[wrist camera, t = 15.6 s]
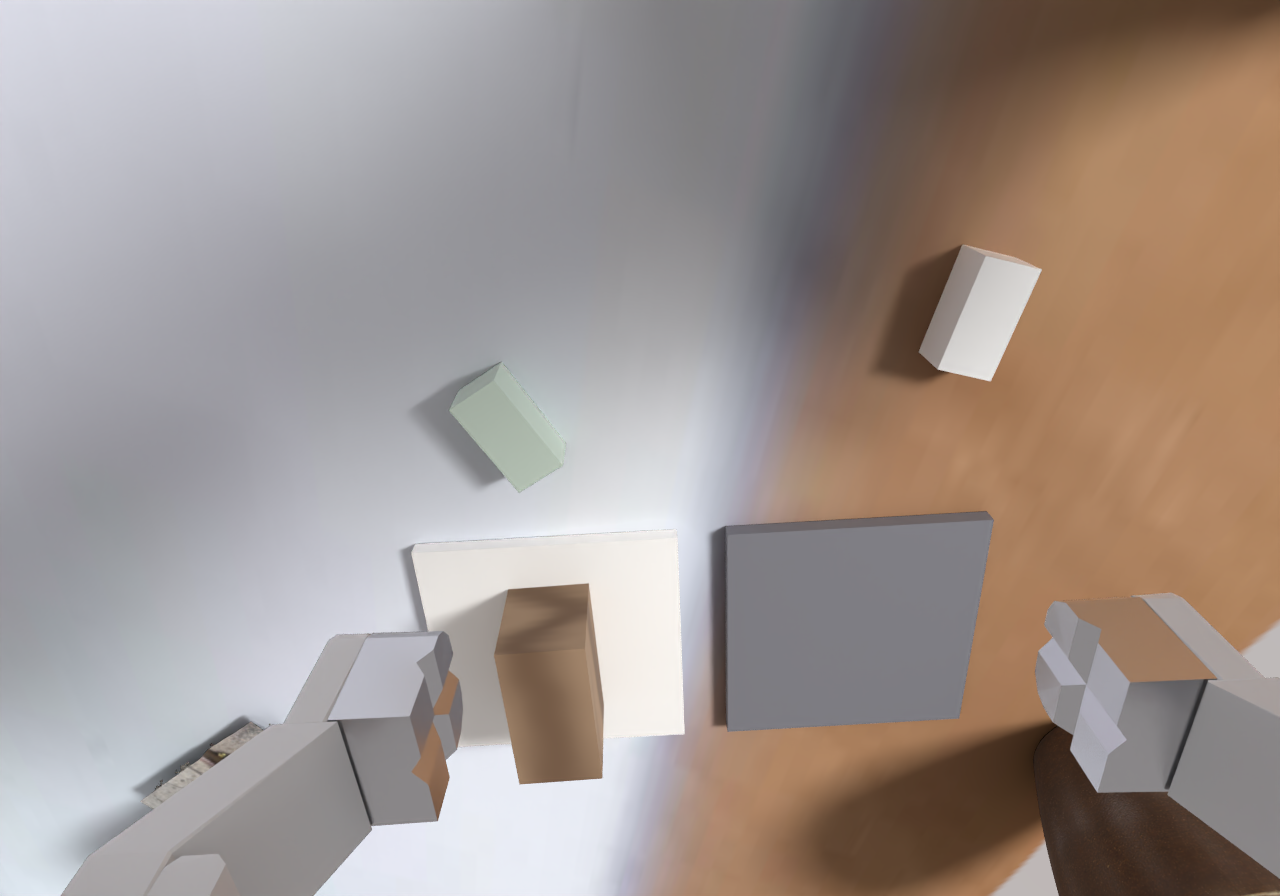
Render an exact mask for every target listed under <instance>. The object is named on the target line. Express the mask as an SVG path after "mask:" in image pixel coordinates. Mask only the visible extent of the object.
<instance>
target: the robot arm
mask: <svg viewBox="0 0 1280 896" xmlns="http://www.w3.org/2000/svg"><path fill="white" fill-rule="evenodd" d="M1044 625H1045V627H1046V628H1047V630H1048V631H1049V633H1050V634H1051V635H1052V637H1053V638H1052V639H1051V640H1050V641H1049V642H1048V643H1047V644H1046V645H1045V646H1044V647H1042V648H1041V649H1040V650H1039V651H1038V657H1037V663H1036V669H1035V674H1036V682H1037V690H1038V694H1039V696H1040V699H1041V702H1042V704H1043V707H1044V709H1045V710H1046V712H1047V714H1048V715H1049V717H1050V718H1051V720H1052V722H1053V723H1055V724H1056V725H1058V726H1059V727H1061V728H1063V729H1064V730H1066V731H1067V732H1069V733H1070V734H1072V735H1073V739H1072V744H1071V748H1070V750H1071V752H1072V754H1073V755H1074V757H1075V758H1076V760H1077V761H1078V763H1079V765H1080V766H1081V768H1082V769H1083V771H1084V772H1085V774H1086V776H1087V777H1088V779H1089V780H1090V782H1091V783H1092V785H1093V786H1094V788H1095V790H1096V791H1097V793H1108V792H1168V794H1167V795H1168V796H1170V797H1171V798H1172V799H1174V800H1175V801H1176V802H1178V803H1179V804H1180V805H1182V806H1183V807H1184V808H1186V809H1187V810H1188V811H1190V812H1191V813H1192V814H1194V815H1195V816H1196V817H1198V818H1199V819H1200V820H1202V821H1203V822H1204V823H1206V824H1207V825H1208V826H1210V827H1211V828H1212V829H1214V830H1215V831H1216V832H1218V833H1219V834H1220V835H1222V836H1223V837H1224V838H1226V839H1227V840H1229V841H1230V842H1231V843H1233V844H1234V845H1235V846H1237V847H1238V848H1239V849H1241V850H1242V851H1243V852H1245V853H1246V854H1247V855H1249V856H1250V857H1251V858H1253V859H1254V860H1255V861H1257V862H1258V863H1259V864H1261V865H1262V866H1263V867H1265V868H1266V869H1267V870H1269V871H1270V872H1271V873H1273V874H1274V875H1275V876H1277V877H1278V878H1279V879H1280V678H1278V677H1275V678H1265V677H1263V676H1262V675H1261V674H1260V673H1259V672H1258V671H1257V670H1256V669H1255V668H1254V667H1253V666H1252V665H1251V664H1250V663H1249V662H1248V661H1247V660H1246V659H1245V658H1244V657H1243V656H1242V655H1241V654H1240V653H1239V652H1238V651H1237V650H1236V649H1235V648H1234V647H1233V646H1232V645H1231V644H1230V643H1229V642H1228V641H1227V640H1226V639H1225V638H1223V637H1222V636H1221V635H1220V634H1219V633H1218V632H1217V631H1216V630H1215V629H1214V628H1213V627H1212V626H1211V625H1210V624H1209V623H1208V622H1207V621H1206V620H1205V619H1204V618H1203V617H1202V616H1201V615H1200V614H1199V613H1198V612H1197V611H1196V610H1195V609H1194V608H1193V607H1192V606H1191V605H1190V604H1189V603H1188V602H1187V601H1185V600H1184V599H1183V598H1182V597H1180V596H1177V595H1175V594H1173V593H1161V594H1147V595H1134V596H1131V597H1116V598H1098V599H1080V600H1062V601H1054V602H1053V604H1052V605H1051V606H1050V608H1049V609H1048V612H1047V616H1046V620H1045V624H1044ZM452 657H453V651H452V647H451V643H450V639H449V635H448V634H446V633H445V632H444V631H425V632H388V633H372V634H339V635H336V636H334V637H333V638H331V639H330V640H329V641H328V642H327V644H326V646H325V648H324V649H323V651H322V653H321V655H320V657H319V659H318V660H317V662H316V664H315V666H314V668H313V670H312V671H311V673H310V675H309V677H308V679H307V681H306V682H305V684H304V686H303V688H302V690H301V692H300V694H299V695H298V697H297V699H296V701H295V703H294V705H293V706H292V708H291V710H290V712H289V714H288V716H287V717H286V719H285V721H284V723H283V724H272V725H270V726H269V727H268V728H266V729H265V730H263V731H262V732H261V733H259V734H258V735H256V736H255V737H254V738H252V739H251V740H250V741H248V742H247V743H245V744H244V745H243V746H241V747H240V748H238V749H237V750H236V751H234V752H233V753H231V754H230V755H229V756H227V757H226V758H224V759H223V760H222V761H220V762H219V763H217V764H216V765H215V766H213V767H212V768H210V769H209V770H208V771H206V772H205V773H203V774H202V775H201V776H199V777H198V778H196V779H195V780H194V781H192V782H191V783H189V784H188V785H187V786H185V787H184V788H183V789H181V790H180V791H178V792H177V793H176V794H174V795H173V796H171V797H170V798H169V799H167V800H166V801H164V802H163V803H162V804H160V805H159V806H157V807H156V808H155V809H153V810H152V811H150V812H149V813H148V814H146V815H145V816H143V817H142V818H141V819H139V820H138V821H136V822H135V823H134V824H132V825H131V826H129V827H128V828H127V829H125V830H124V831H122V832H121V833H120V834H118V835H117V836H115V837H114V838H113V839H111V840H110V841H109V842H107V843H106V844H104V845H103V846H102V847H100V848H99V849H97V850H96V851H95V852H93V853H92V854H90V855H89V856H88V857H87V858H86V860H85V861H84V863H83V864H82V866H81V867H80V868H79V870H78V871H77V873H76V874H75V876H74V877H73V879H72V880H71V881H70V883H69V884H68V886H67V887H66V889H65V890H64V891H63V893H62V894H61V896H314V894H315V893H316V892H317V891H318V890H319V889H320V888H321V887H322V885H323V884H324V883H325V882H326V881H327V880H328V879H329V878H330V876H331V875H332V874H333V873H334V872H335V871H336V870H337V869H338V867H339V866H340V865H341V864H342V863H343V862H344V861H345V860H346V858H347V857H348V856H349V855H350V854H351V853H352V852H353V851H354V849H355V848H356V847H357V846H358V845H359V844H360V843H361V842H362V840H363V839H364V838H365V837H366V836H367V835H368V834H369V833H370V832H371V830H372V828H371V826H378V825H392V824H405V823H419V822H433V821H438V818H439V814H440V811H441V807H442V803H443V800H444V796H445V792H446V789H447V785H448V781H449V773H448V769H447V764H446V759H447V758H448V757H449V756H451V755H452V754H453V753H454V752H455V751H456V750H457V747H458V743H459V739H460V735H461V729H462V716H463V703H462V692H461V687H460V682H459V679H458V678H457V677H456V676H455V675H454V674H452V673H451V672H450V671H449V667H450V664H451V660H452Z"/></svg>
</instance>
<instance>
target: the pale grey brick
mask: <svg viewBox="0 0 1280 896" xmlns="http://www.w3.org/2000/svg"><path fill="white" fill-rule="evenodd" d="M1041 270H1042V269H1040V268H1037V267H1035V266H1033V265H1031V264H1029V263H1027V262H1024V261H1022V260H1020V259H1018V258H1016V257H1012V256H1008V255H1004V254H1000V253H996V252H992V251H988V250H984V249H980V248H975V247H971V246H967V245H963V244H962V247H961V249H960V252H959V254H958V256H957V259H956V261H955V264H954V266H953V269H952V271H951V274H950V276H949V278H948V281H947V283H946V286H945V288H944V291H943V293H942V296H941V298H940V301H939V303H938V305H937V308H936V310H935V313H934V315H933V318H932V320H931V323H930V325H929V327H928V330H927V332H926V335H925V337H924V340H923V342H922V345H921V347H920V350H919V353H920V354H921V355H922V356H924V357H925V358H926V359H927V360H928V361H929V362H930V363H931V364H932V365H933V366H934V367H935V368H937V369H938V370H942V371H947V372H951V373H956V374H960V375H965V376H969V377H974V378H978V379H983V380H987V381H991V379H992V377H993V375H994V373H995V371H996V368H997V366H998V364H999V362H1000V360H1001V358H1002V355H1003V353H1004V351H1005V349H1006V347H1007V344H1008V342H1009V340H1010V338H1011V336H1012V334H1013V331H1014V329H1015V327H1016V325H1017V323H1018V321H1019V318H1020V316H1021V314H1022V312H1023V310H1024V307H1025V305H1026V303H1027V301H1028V299H1029V297H1030V294H1031V292H1032V290H1033V288H1034V286H1035V284H1036V281H1037V279H1038V277H1039V275H1040V273H1041Z"/></svg>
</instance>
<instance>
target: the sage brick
mask: <svg viewBox="0 0 1280 896" xmlns="http://www.w3.org/2000/svg"><path fill="white" fill-rule="evenodd" d="M449 412H450V413H451V414H452V415H453V416H454V417H455V419H456V420H457V421H458V422H459V423H460V424H461V426H462V427H463V428H464V429H465V430H466V431H467V433H468V434H469V435H470V436H471V437H472V438H473V440H474V441H475V442H476V443H477V444H478V446H479V447H480V448H481V449H482V450H483V451H484V453H485V454H486V455H487V456H488V457H489V458H490V460H491V461H492V462H493V463H494V464H495V465H496V467H497V468H498V469H499V470H500V471H501V472H502V474H503V475H504V476H505V477H506V478H507V479H508V481H509V482H510V483H511V484H512V485H513V486H514V488H515V489H516V490H517V491H518V492H519V493H520V492H521V491H523V490H525V489H526V488H528V487H529V486H531V485H533V484H534V483H536V482H537V481H539V480H541V479H542V478H544V477H546V476H547V475H549V474H550V473H552V472H554V471H555V470H557V469H558V468H560V467H562V466H563V462H564V454H565V447H566V443H565V441H564V440H563V439H562V438H561V436H560V435H559V434H558V433H557V431H556V430H555V429H554V427H553V426H552V425H551V424H550V422H549V421H548V420H547V419H546V417H545V416H544V415H543V414H542V412H541V411H540V410H539V409H538V407H537V406H536V405H535V403H534V402H533V401H532V400H531V398H530V397H529V396H528V395H527V393H526V392H525V391H524V390H523V388H522V387H521V386H520V385H519V383H518V382H517V381H516V380H515V378H514V377H513V376H512V374H511V373H510V372H509V371H508V369H507V368H506V367H505V366H504V364H503V363H502V362H500V363H499V364H497V365H496V366H494V367H493V368H491V369H490V370H488V371H487V372H485V373H484V374H482V375H481V376H479V377H478V378H476V379H475V380H473V381H472V382H470V383H469V384H467V385H466V386H464V387H463V388H462V389H460V390H459V391H458V393H457V395H456V397H455V399H454V401H453V403H452V405H451V407H450V409H449Z"/></svg>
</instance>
